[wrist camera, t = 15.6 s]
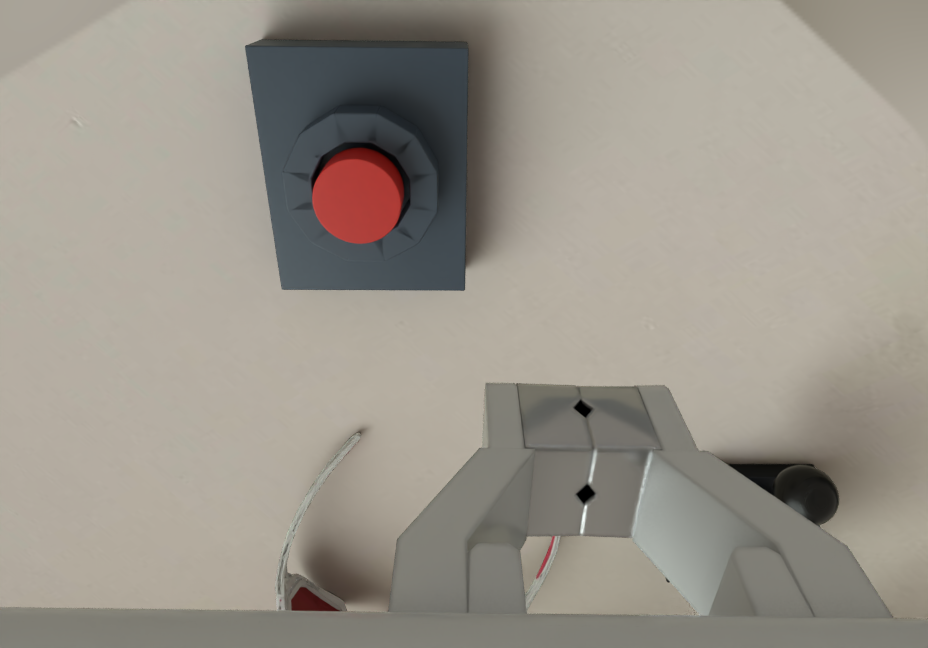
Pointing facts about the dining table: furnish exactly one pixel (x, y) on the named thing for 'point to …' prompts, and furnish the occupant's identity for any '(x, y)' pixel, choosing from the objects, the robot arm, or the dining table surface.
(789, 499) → the lever
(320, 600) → the sunglasses
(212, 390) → the dining table surface
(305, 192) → the grey base plate
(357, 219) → the button
